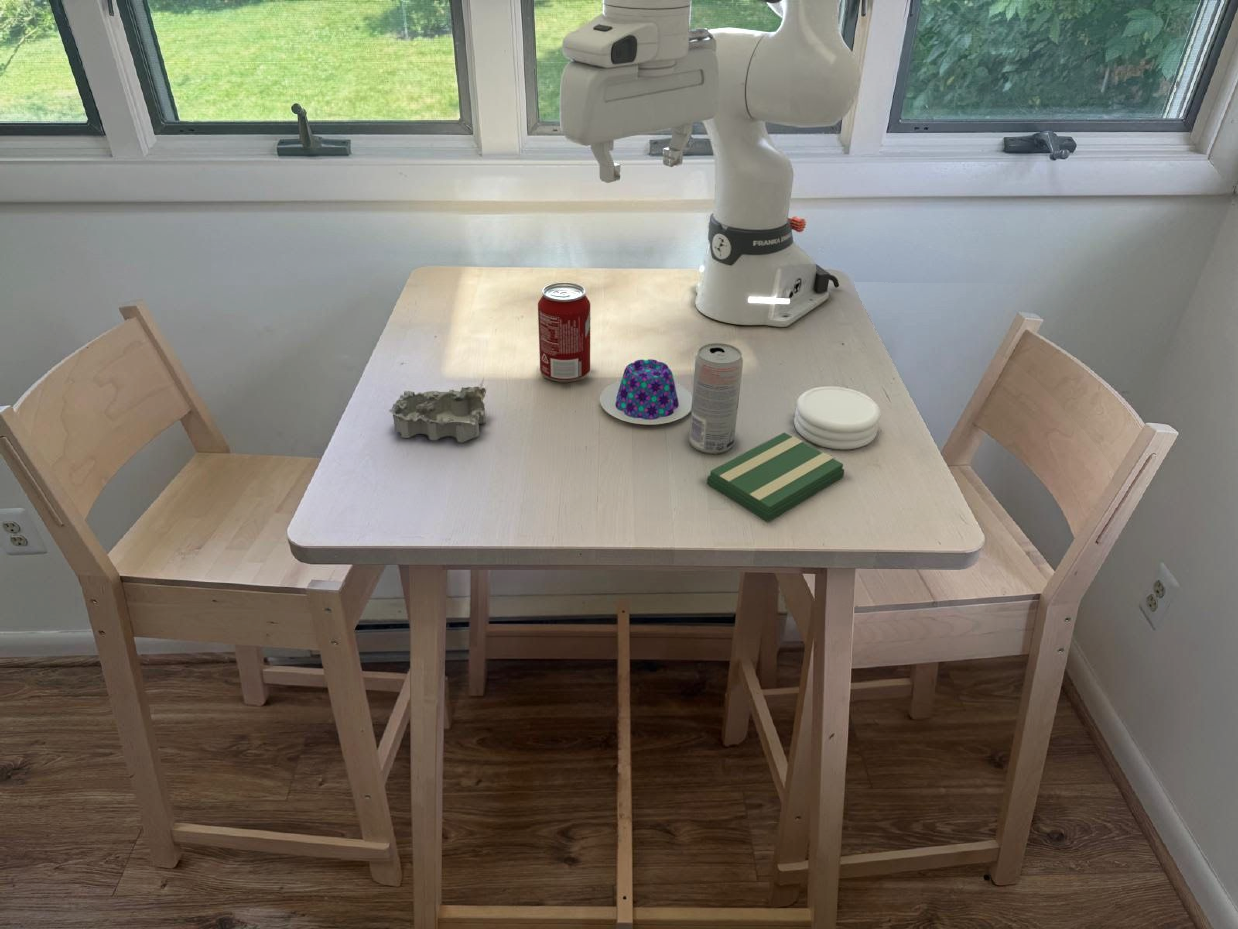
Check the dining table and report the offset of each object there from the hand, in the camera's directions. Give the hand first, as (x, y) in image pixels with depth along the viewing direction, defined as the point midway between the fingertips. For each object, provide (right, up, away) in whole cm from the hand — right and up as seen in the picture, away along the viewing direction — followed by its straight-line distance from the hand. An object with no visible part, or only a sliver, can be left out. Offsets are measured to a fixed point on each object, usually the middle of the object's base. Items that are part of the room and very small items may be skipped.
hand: (641, 172), depth 96 cm
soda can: (-10, -20, +21) cm, 31 cm away
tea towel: (+15, -34, +1) cm, 37 cm away
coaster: (+24, -28, +11) cm, 39 cm away
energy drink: (+9, -30, +8) cm, 32 cm away
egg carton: (-24, -28, +9) cm, 38 cm away
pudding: (+1, -25, +15) cm, 29 cm away
